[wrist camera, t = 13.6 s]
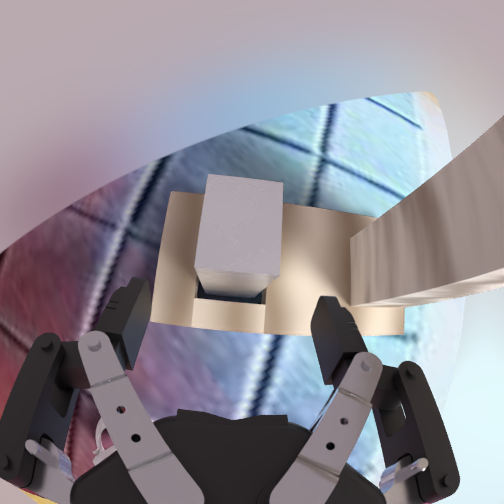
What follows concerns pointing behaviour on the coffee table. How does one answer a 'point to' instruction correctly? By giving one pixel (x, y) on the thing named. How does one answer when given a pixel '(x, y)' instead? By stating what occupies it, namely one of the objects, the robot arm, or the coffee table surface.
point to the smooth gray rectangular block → (239, 236)
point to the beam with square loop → (355, 254)
